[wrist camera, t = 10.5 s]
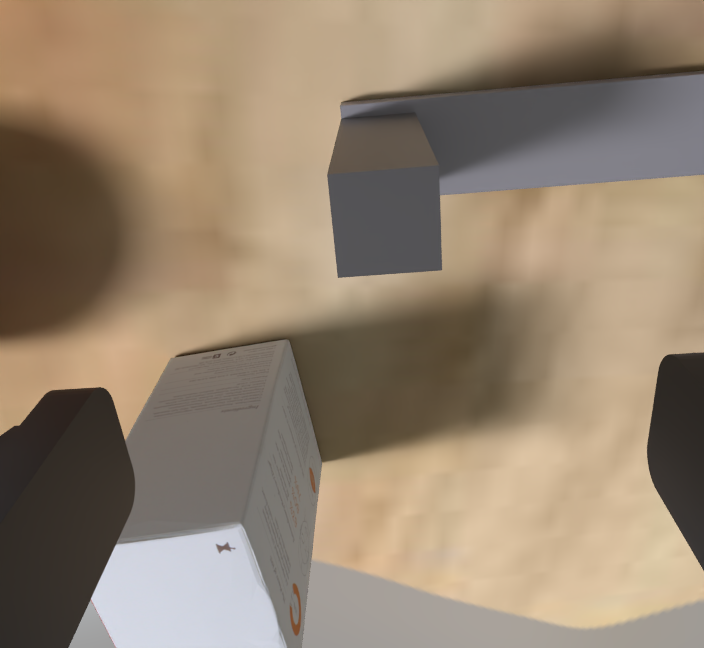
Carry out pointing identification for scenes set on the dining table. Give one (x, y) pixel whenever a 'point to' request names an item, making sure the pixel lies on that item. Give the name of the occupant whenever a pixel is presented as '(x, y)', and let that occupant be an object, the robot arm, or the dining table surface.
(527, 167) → the grey l-shaped bracket
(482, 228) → the dining table surface
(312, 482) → the small box
